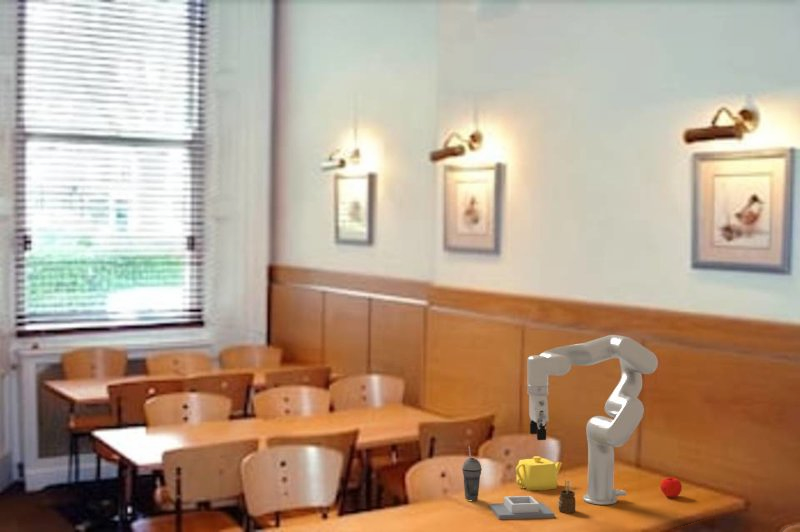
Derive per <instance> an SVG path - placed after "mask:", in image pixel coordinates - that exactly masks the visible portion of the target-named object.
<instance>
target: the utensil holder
mask: <svg viewBox="0 0 800 532" xmlns="http://www.w3.org/2000/svg"><path fill="white" fill-rule="evenodd" d="M564 488H565V489H563V490H560V492H559V495H560V496H559V497H558V511H559V512H560V513H563V514H573V513H575V512H576V497H575V492H574V491H573V490H571V489H570V488H572V481H571V480H570V479H566V480H564Z"/></svg>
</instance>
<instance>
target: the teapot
mask: <svg viewBox="0 0 800 532" xmlns="http://www.w3.org/2000/svg"><path fill="white" fill-rule="evenodd" d="M562 465H563V463H562V462H561V461H556V463H555V462H554V461H552V460H550V459H547V458H543V457H541V456H539V455H536V456H533V457H532V458H525V459H519V461H518V464H517V466H515V472H516V476H515V477H516V481H515V482H516V484H517V485H518V486H519V485H520V486H522V487H524V488H526V489H527V491H528V490H535V491H534V492H537V491H536V490H538V491H547V490H548V491H549V490H555V489H557V487H558V473H559V472H560V469H561V467H562ZM520 486H519V487H520ZM522 487H521V488H522ZM524 488H523V489H524ZM526 489H525V490H526Z"/></svg>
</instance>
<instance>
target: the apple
mask: <svg viewBox="0 0 800 532" xmlns="http://www.w3.org/2000/svg"><path fill="white" fill-rule="evenodd" d="M682 485H683V484H682V483H681V481H680V480H679V479H678V478H676V477H675V478H674V477H665V478H663V479H662V480H661V482H660V484H659V487H660V490H661V492H662V494H663V495H664V496H666V497H667V498H673V499H674V498H678V496H679V495H680V494H681V492H682V489H683V486H682Z"/></svg>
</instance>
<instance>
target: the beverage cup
mask: <svg viewBox="0 0 800 532" xmlns="http://www.w3.org/2000/svg"><path fill="white" fill-rule="evenodd" d="M471 454H472V453H471V447H470V445H469V446H468V456H469V458H467V459H466V460H465V461H464V462H463V464H462V468H461V469H462V475H463V484H464V485H463V486H464V487H463V488H464V497H465V498H464V499H467V500H472V501H471V502H475V501H474V500H477V501H478V498H479V488H480V480H481V479H480V478H481V475H482V464H481V462H480V461H479V460H478V459H477V458H474V457H472V455H471ZM467 500H466V501H467Z"/></svg>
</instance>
